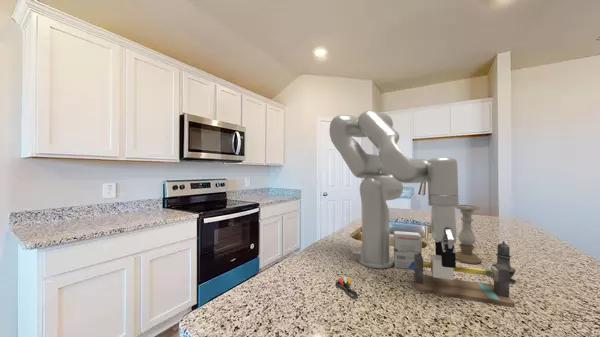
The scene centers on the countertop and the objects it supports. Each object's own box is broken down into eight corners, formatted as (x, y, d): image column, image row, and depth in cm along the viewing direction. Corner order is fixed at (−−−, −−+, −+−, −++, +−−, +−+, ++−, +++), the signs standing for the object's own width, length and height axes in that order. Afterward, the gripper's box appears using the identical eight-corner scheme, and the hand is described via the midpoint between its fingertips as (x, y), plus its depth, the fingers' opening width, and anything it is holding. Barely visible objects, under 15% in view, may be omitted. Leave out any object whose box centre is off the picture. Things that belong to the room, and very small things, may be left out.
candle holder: (455, 254, 98) (456, 203, 98) (482, 259, 92) (483, 206, 92) (450, 259, 92) (450, 205, 92) (479, 266, 86) (479, 208, 86)
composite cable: (360, 299, 64) (360, 290, 64) (342, 300, 63) (342, 291, 63) (349, 282, 74) (349, 274, 74) (333, 283, 73) (333, 274, 73)
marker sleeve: (433, 277, 69) (433, 259, 69) (430, 271, 73) (430, 254, 73) (453, 280, 67) (453, 261, 67) (449, 273, 71) (450, 256, 71)
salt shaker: (520, 284, 72) (521, 244, 72) (498, 282, 73) (498, 242, 73) (508, 276, 78) (508, 238, 78) (487, 274, 79) (487, 237, 79)
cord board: (416, 291, 68) (416, 262, 68) (413, 276, 77) (413, 251, 77) (514, 307, 60) (514, 275, 60) (498, 288, 69) (498, 260, 69)
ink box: (419, 265, 86) (419, 232, 86) (421, 270, 82) (421, 235, 82) (393, 262, 89) (393, 230, 89) (394, 267, 84) (394, 233, 84)
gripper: (424, 197, 79) (426, 250, 79) (433, 203, 63) (435, 270, 63) (451, 198, 77) (453, 253, 76) (467, 204, 60) (469, 274, 60)
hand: (444, 260), depth 69 cm, fingers open, 9 cm apart
